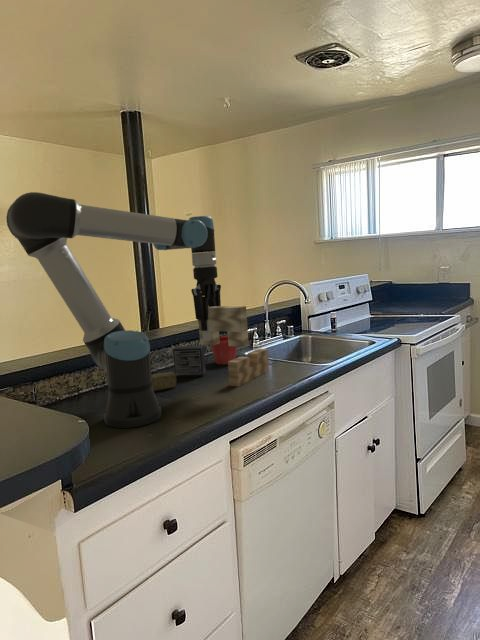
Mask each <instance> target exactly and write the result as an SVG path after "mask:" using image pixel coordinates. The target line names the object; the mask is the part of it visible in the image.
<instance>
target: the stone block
mask: <svg viewBox="0 0 480 640" xmlns="http://www.w3.org/2000/svg"><path fill="white" fill-rule="evenodd" d="M152 386H153V390H154V392H157V391H163V390H169V389H173V388H175V387H177V377H176V374H175V372H172V371H169V372H160V373H153V374H152Z"/></svg>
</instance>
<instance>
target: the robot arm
mask: <svg viewBox="0 0 480 640" xmlns="http://www.w3.org/2000/svg"><path fill="white" fill-rule="evenodd" d="M5 217H6V225H7V228H8V230H9V232H10V233H11V235H12V236H13V237H14V238H15V239H17V241H18V242H19V243H20V245H21V247H22V248H23V250H24V252H26V255H27V256H28V257H32V258H35V259H36V260H38V262H39V263H40V265H41V267H42V269H43V270H44V272H45V273H46V275H47V276H48V278H49V279H50V281H51V282H52V285H54V287H55V289H56V290H57V292H58V294H59V295H60V296H61V298H62V300H63V302H64V303H65V305H66V307H68V309H69V311H70V312H71V315H72V316H73V317H74V318H75V320H76V322H77V324H78V325H79V326H80V328H81V330H82V331H83V333H84V334H83V337H82V342H83V343H84V344H85V346H86V348H87V350H88V351H89V354H90V356H91V359H92V361H93V363H95V364H96V366H97V367H99V368H100V369H102V370H104V371H105V372H106V377H107V388H108V396H107V400H106V407H105V411H104V413H103V417H104V418H103V419H104V423H105V425H106V426H108V427H111V428H117V429H129V428H137V427H142V426H146V425H149V424H152V423H155V422H157V421H158V420H159V419H161V417H162V408H161V405H160V404H159V401H158V399H157V397H156V393H155V391H154V390H153V386H152V362H151V344H150V341H149V337H148V335H147V334H146V333H145V332H142V331H138V330H132V329H131V330H129V329H127V330H126V329H125V328H124V326H123V324H122V322H121V320H120V319H119V318H118V319H117V318H113V317H112V316H111V315H110V313H109V311H108V310H107V309H106V307H105V305H104V303H103V302H102V300H101V298H100V296H99V294H97V292H96V290H95V288H94V287H93V285H92V283H91V282H90V279H88V277H87V275H86V274H85V272H84V270H83V269H82V267H81V265H80V263H79V262H78V260H77V258H76V257H75V256H74V254H73V252H72V250H71V249H70V247H69V245H68V244H67V243H68V242H67V241H68V239H74V238H75V237H76V236H81V237H92V238H101V239H110V240H119V241H127V242H136V243H146V244H151V245H152V244H153V247H154V248H155V249H156V250H157V251H167V250H171V251H172V250H181V249H182V250H183V249H191V262H192V263H191V264H192V266H193V269H192V270H193V271H192V272H193V279H194V280H196V285H195V286H196V287H195V288H192V289H191V294H192V296H193V297H192V299H193V305H194V306H193V307H194V312H195V319H196V320H197V321H201V329H202V336H203V341H211V333H210V320H208V306H222V303H221V288H222V285H221V284H217V282H216V280H215V279H217V278H218V267H217V266H215V265H217V256H216V242H215V227H214V226H215V225H214V221H213V218H212V217H211V216H209V215H200V216H191V217H189V218H188V220H187V219H180V218H173V217H168V216H161V215H160V216H159V215H154V214H147V213H139V212H132V211H128V210H118V209H113V208H112V209H111V208H106V207H100V206H92V205H86V204H80V203H78V201H77V200H76V199H75V198H68V197H64V196H63V197H62V196H57V195H53V194H49V193H43V192H37V191H34V192H32V191H31V192H26V193H23V194H21V195H20V196H18V197H17V198H16V199H15V200H14V201H13V203H11V204H10V206H9V208H8V209H7V213H6V216H5Z"/></svg>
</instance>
